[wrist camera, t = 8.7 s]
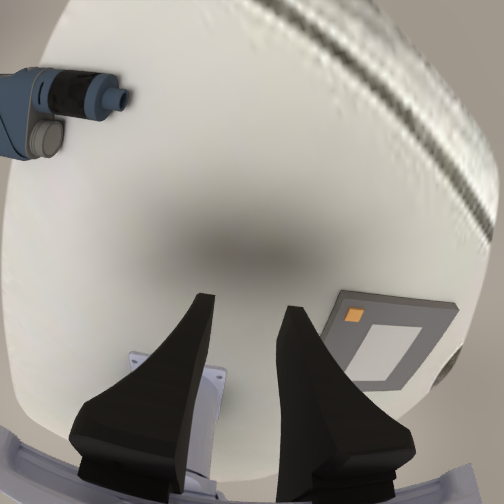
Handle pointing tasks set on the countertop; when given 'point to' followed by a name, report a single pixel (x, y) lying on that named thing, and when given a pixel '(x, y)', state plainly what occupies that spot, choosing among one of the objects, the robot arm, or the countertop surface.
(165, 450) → the robot arm
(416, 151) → the countertop surface
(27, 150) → the vaping device
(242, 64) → the countertop surface
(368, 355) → the computer chip
